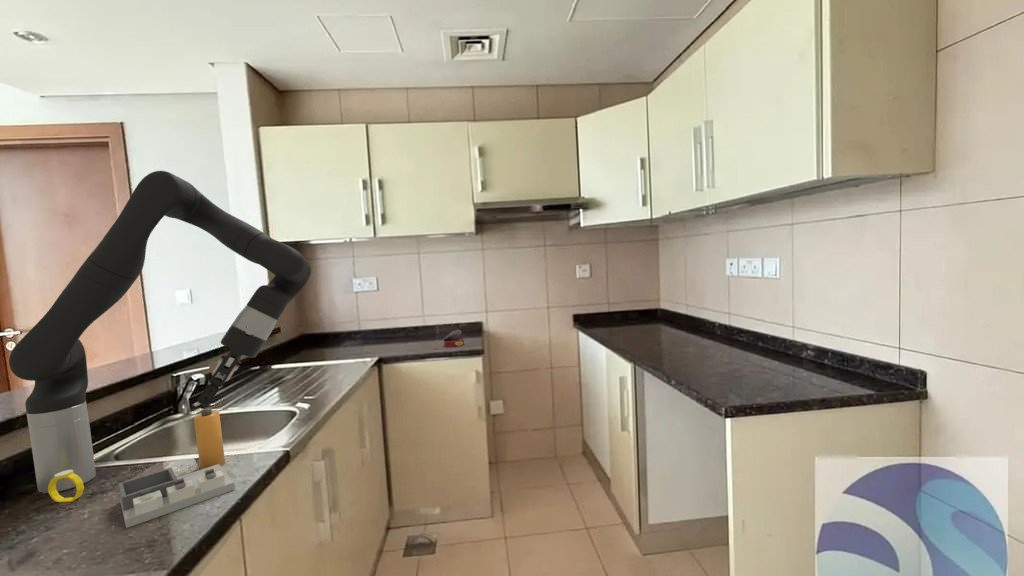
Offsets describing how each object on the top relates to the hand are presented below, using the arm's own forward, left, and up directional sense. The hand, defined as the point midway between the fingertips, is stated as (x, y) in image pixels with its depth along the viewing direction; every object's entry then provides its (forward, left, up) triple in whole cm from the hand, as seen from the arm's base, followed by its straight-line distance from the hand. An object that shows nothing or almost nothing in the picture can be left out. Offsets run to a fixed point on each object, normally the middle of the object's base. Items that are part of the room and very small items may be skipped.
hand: (204, 400), depth 95 cm
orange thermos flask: (-10, +2, -18) cm, 21 cm away
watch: (-16, -22, -18) cm, 33 cm away
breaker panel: (+1, -6, -18) cm, 19 cm away
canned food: (-72, +118, -18) cm, 139 cm away
